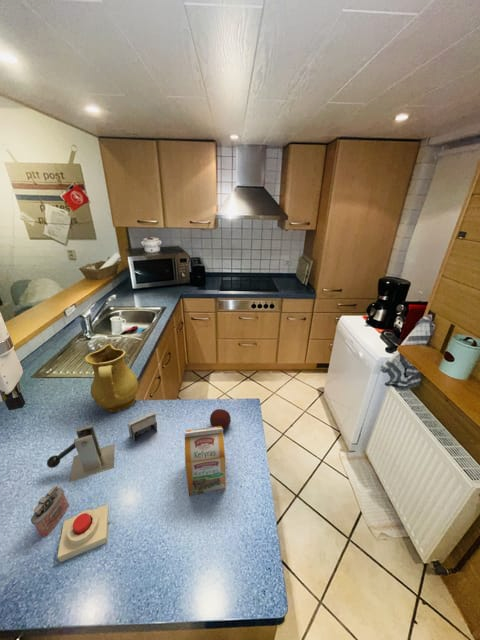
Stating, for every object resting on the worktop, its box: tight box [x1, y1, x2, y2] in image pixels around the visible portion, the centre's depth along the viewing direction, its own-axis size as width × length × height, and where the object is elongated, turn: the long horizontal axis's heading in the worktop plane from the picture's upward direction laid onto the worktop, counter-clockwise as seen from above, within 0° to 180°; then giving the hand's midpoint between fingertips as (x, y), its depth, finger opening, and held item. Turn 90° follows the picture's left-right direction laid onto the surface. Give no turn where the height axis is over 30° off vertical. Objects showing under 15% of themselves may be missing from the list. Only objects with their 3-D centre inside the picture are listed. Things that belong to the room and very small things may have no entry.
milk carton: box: [184, 426, 227, 497], centre depth 73 cm, size 11×11×19 cm
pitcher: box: [84, 343, 139, 413], centre depth 99 cm, size 17×19×25 cm
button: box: [73, 513, 91, 534], centre depth 61 cm, size 4×4×2 cm
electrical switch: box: [127, 411, 158, 442], centre depth 87 cm, size 9×5×9 cm, turn 127°
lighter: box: [30, 485, 70, 538], centre depth 63 cm, size 8×3×10 cm, turn 170°
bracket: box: [68, 424, 116, 483], centre depth 77 cm, size 12×9×14 cm
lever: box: [46, 430, 93, 469], centre depth 74 cm, size 14×3×3 cm
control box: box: [56, 504, 110, 563], centre depth 62 cm, size 10×8×4 cm
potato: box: [209, 408, 232, 431], centre depth 92 cm, size 7×8×7 cm
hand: (17, 406), depth 66 cm, fingers closed
